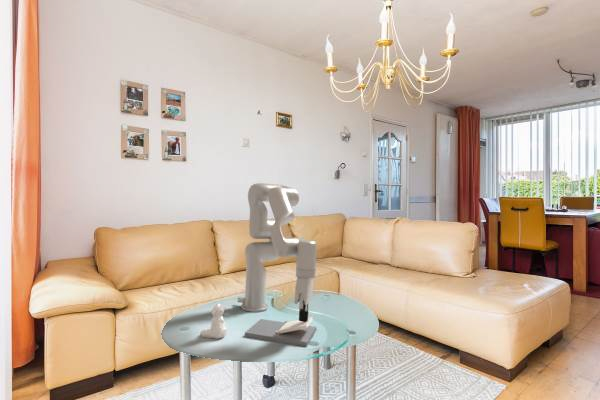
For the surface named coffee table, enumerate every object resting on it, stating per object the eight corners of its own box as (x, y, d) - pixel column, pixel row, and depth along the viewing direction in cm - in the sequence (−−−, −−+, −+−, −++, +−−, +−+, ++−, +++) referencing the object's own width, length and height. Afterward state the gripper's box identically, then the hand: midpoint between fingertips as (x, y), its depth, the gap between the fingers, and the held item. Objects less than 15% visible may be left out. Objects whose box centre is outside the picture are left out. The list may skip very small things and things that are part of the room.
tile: (306, 325, 120) (306, 328, 120) (312, 316, 130) (312, 319, 130) (278, 331, 123) (279, 333, 123) (286, 322, 132) (287, 324, 132)
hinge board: (244, 336, 123) (245, 328, 123) (260, 322, 138) (261, 315, 139) (306, 346, 117) (307, 338, 117) (316, 330, 132) (316, 323, 132)
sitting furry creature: (220, 329, 129) (221, 298, 129) (234, 335, 124) (235, 303, 124) (199, 335, 122) (200, 303, 122) (212, 342, 116) (214, 308, 117)
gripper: (301, 268, 134) (299, 313, 134) (290, 275, 120) (288, 326, 119) (319, 270, 132) (317, 316, 132) (310, 277, 118) (308, 329, 117)
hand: (303, 320), depth 126 cm, fingers closed
